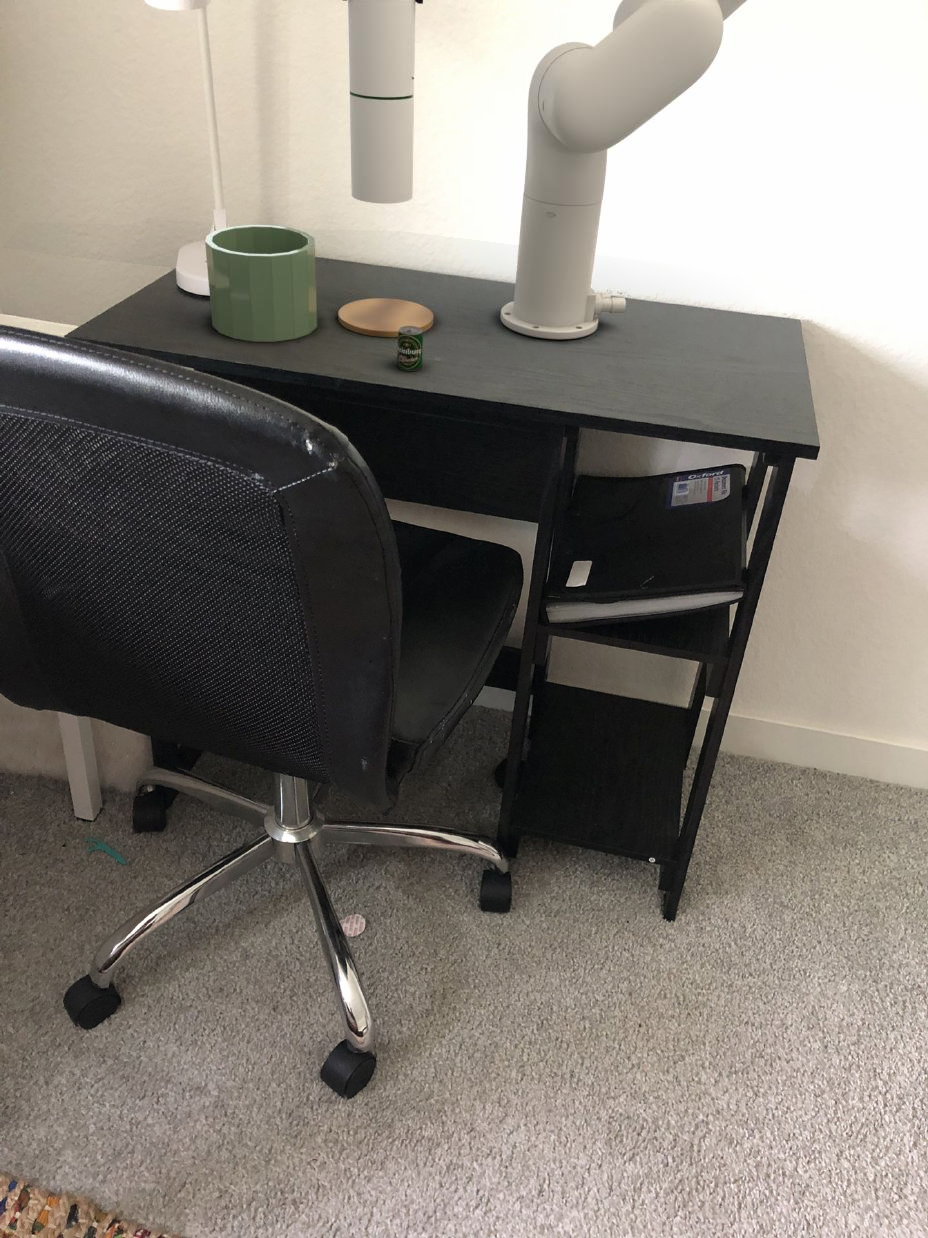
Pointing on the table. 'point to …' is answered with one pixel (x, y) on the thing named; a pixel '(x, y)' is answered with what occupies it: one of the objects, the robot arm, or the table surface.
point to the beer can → (410, 348)
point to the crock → (262, 282)
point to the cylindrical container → (381, 99)
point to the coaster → (384, 316)
